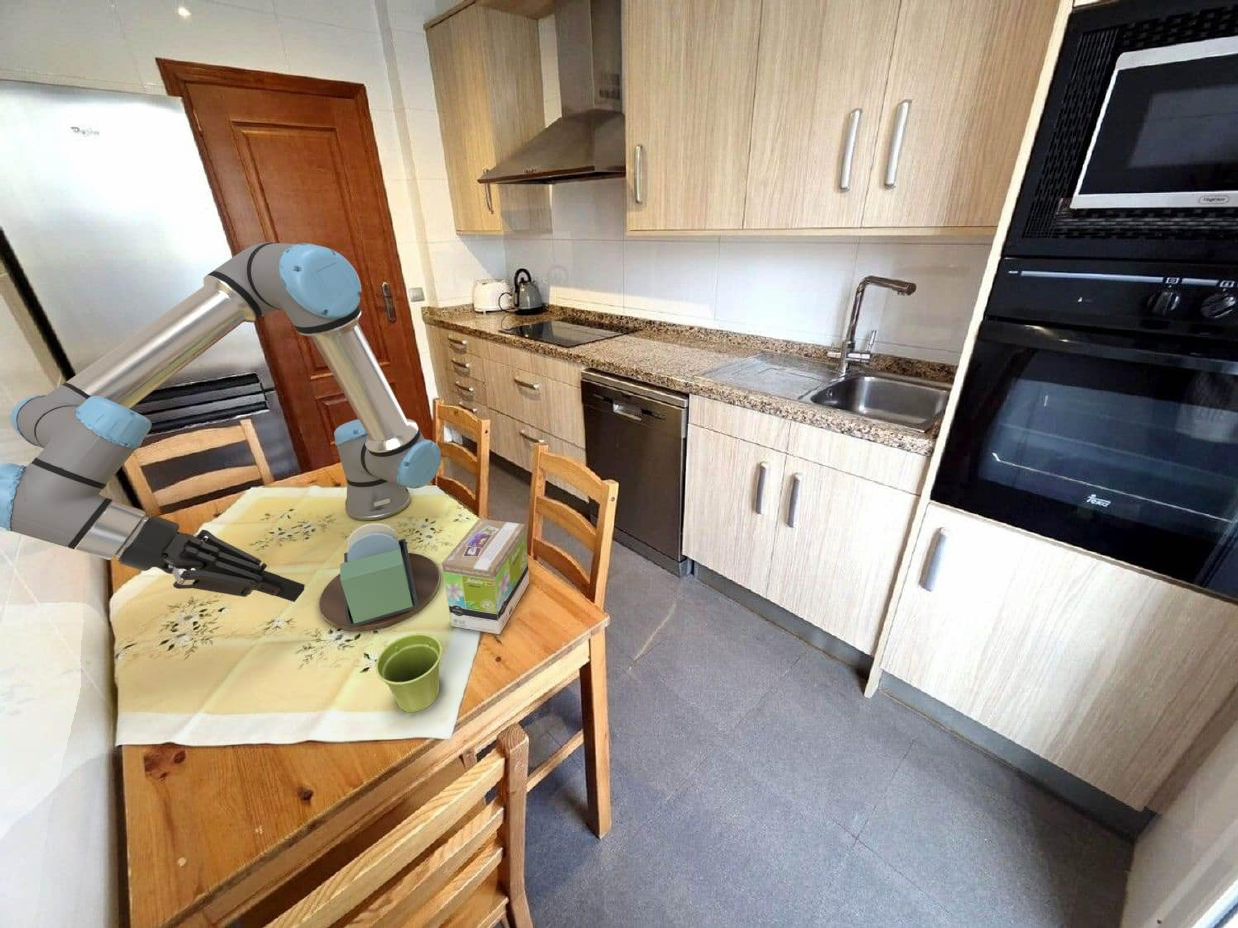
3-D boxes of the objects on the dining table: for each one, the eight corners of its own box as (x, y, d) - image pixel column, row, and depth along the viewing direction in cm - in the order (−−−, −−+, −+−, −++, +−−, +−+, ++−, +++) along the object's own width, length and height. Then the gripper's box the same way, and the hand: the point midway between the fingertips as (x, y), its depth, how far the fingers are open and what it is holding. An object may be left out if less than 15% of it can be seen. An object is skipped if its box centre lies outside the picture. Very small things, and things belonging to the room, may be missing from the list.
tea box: (502, 636, 90) (493, 571, 84) (450, 627, 92) (438, 563, 85) (531, 582, 103) (525, 521, 97) (486, 575, 105) (477, 516, 98)
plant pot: (462, 683, 81) (455, 644, 77) (420, 732, 74) (409, 692, 70) (418, 664, 85) (409, 625, 81) (373, 709, 77) (360, 669, 73)
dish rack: (347, 565, 106) (334, 522, 101) (408, 550, 111) (398, 508, 106) (348, 628, 90) (333, 581, 85) (419, 608, 95) (408, 562, 90)
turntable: (378, 548, 113) (377, 544, 113) (461, 568, 107) (460, 564, 107) (293, 614, 95) (291, 610, 94) (388, 644, 88) (387, 639, 88)
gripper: (132, 533, 77) (289, 586, 91) (99, 584, 66) (282, 635, 81) (161, 496, 77) (314, 555, 91) (133, 541, 66) (311, 600, 80)
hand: (299, 593), depth 86 cm, fingers closed
